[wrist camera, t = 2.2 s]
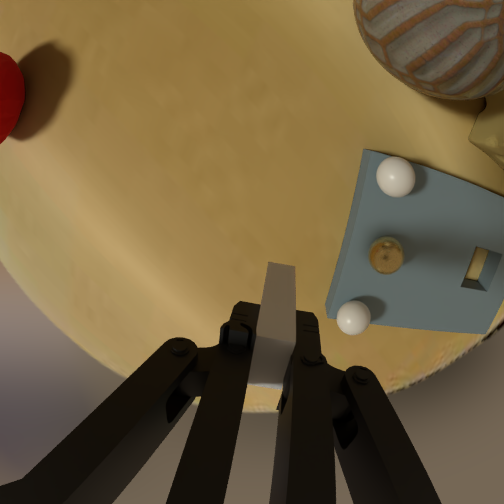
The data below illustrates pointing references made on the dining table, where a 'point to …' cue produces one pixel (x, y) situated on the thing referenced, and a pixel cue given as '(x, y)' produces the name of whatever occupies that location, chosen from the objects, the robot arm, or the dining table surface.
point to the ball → (386, 255)
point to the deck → (423, 252)
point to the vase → (437, 44)
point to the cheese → (491, 129)
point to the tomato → (10, 94)
